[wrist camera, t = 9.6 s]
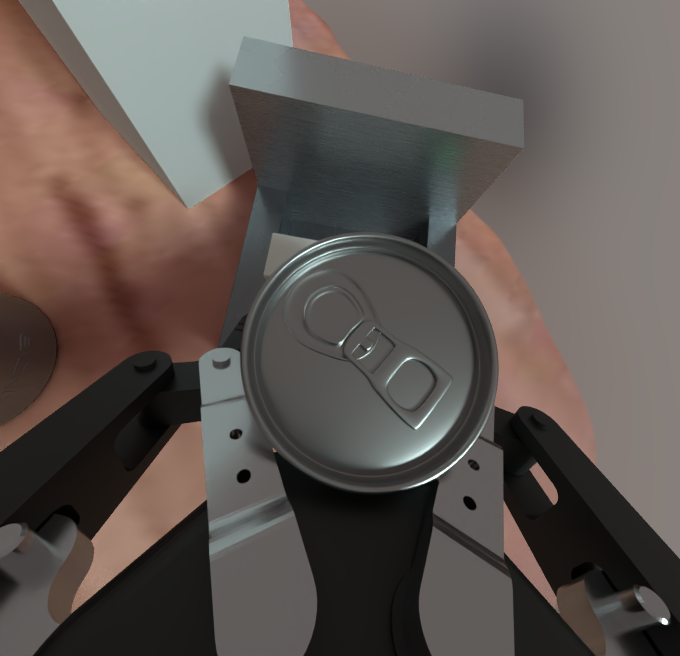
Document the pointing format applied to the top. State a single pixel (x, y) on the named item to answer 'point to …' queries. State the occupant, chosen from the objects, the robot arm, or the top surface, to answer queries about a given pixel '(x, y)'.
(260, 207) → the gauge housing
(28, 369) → the robot arm
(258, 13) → the milk
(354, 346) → the can
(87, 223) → the top surface
